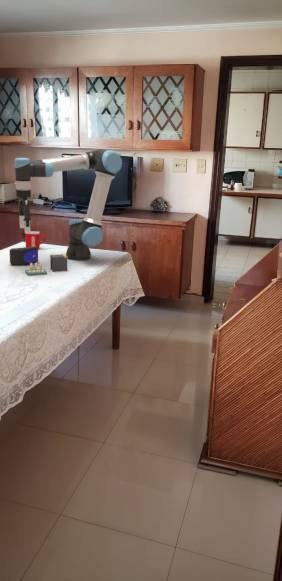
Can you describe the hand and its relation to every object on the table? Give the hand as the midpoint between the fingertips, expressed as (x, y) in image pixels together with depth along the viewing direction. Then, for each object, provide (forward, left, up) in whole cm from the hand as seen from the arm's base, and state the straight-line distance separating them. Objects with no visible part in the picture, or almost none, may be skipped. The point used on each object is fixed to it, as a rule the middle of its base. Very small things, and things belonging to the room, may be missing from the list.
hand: (25, 230), depth 236 cm
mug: (-15, -44, -21) cm, 51 cm away
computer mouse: (-1, -11, -21) cm, 24 cm away
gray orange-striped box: (-16, +6, -21) cm, 27 cm away
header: (-3, +9, -21) cm, 23 cm away
